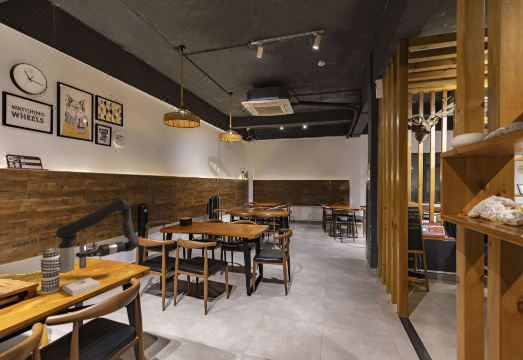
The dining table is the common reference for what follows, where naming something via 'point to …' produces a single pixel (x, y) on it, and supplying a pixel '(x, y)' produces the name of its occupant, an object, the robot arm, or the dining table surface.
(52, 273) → the tiered tower model
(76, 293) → the hole plate
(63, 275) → the dining table surface
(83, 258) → the metal pin
